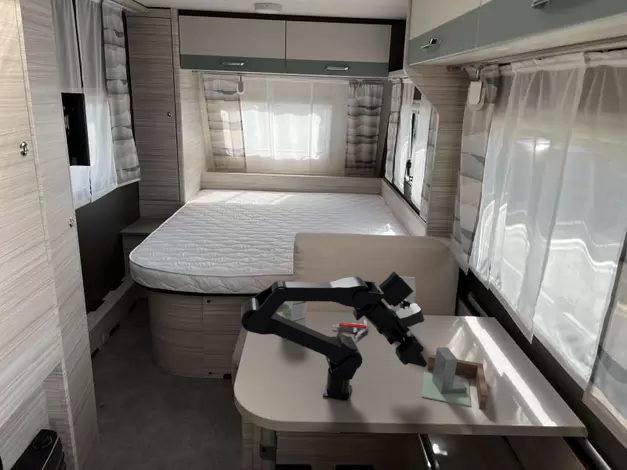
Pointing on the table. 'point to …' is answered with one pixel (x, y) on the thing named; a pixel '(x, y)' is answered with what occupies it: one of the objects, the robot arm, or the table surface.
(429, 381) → the mat
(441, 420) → the table surface
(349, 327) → the swiss army knife
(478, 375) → the brown wooden corner wall
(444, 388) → the gray block
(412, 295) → the milk carton
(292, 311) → the syrup box
